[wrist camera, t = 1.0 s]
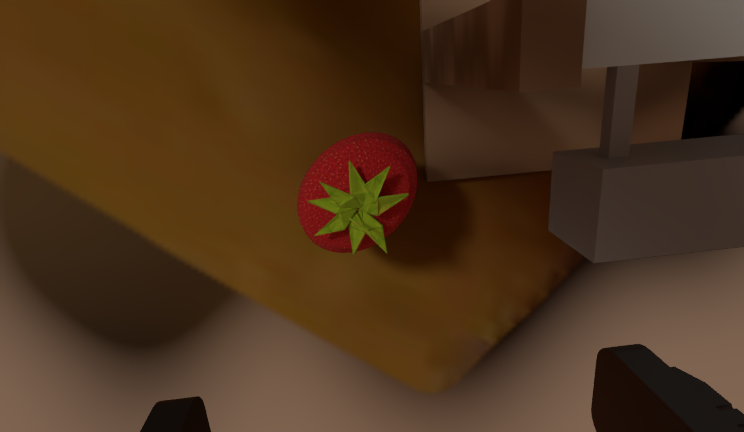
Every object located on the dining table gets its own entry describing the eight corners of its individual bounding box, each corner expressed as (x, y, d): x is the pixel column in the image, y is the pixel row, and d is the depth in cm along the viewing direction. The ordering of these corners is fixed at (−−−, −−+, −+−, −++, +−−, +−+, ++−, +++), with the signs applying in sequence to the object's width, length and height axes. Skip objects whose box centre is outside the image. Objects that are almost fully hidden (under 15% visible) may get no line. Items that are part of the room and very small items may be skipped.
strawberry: (422, 164, 30) (465, 206, 20) (344, 238, 31) (350, 310, 21) (361, 100, 28) (377, 114, 19) (282, 181, 29) (259, 233, 20)
